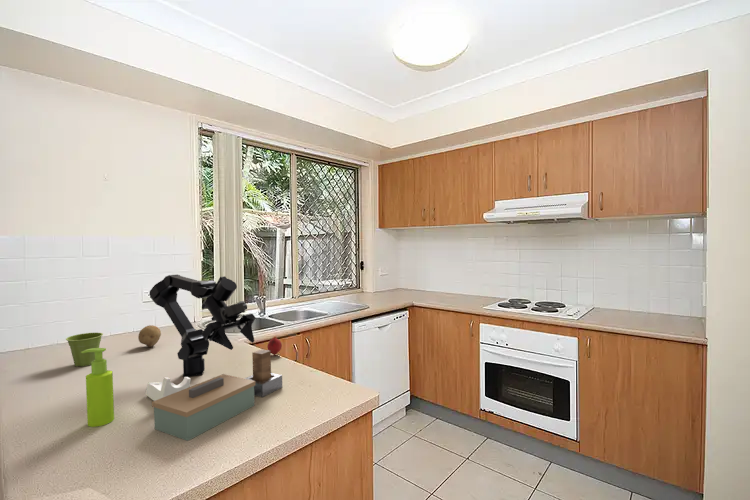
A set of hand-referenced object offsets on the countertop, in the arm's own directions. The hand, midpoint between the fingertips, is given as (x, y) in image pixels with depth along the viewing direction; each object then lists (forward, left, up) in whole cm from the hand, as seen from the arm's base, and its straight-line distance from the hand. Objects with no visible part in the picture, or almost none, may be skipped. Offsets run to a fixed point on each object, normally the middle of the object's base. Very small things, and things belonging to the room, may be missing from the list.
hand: (243, 345), depth 128 cm
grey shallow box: (+6, -6, -14) cm, 16 cm away
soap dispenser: (-37, -13, -14) cm, 42 cm away
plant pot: (-59, +47, -14) cm, 77 cm away
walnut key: (+6, -6, -14) cm, 16 cm away
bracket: (-22, -2, -14) cm, 27 cm away
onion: (+13, +31, -14) cm, 36 cm away
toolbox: (-8, -18, -14) cm, 24 cm away
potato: (-40, +65, -14) cm, 78 cm away
